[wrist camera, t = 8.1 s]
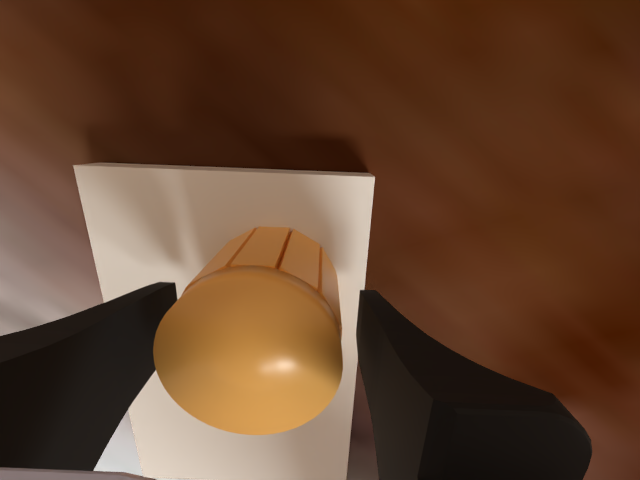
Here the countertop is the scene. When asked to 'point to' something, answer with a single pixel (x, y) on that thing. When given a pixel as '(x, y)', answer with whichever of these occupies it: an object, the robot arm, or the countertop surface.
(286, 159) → the countertop surface
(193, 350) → the cupcake
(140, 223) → the mounting plate
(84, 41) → the countertop surface
